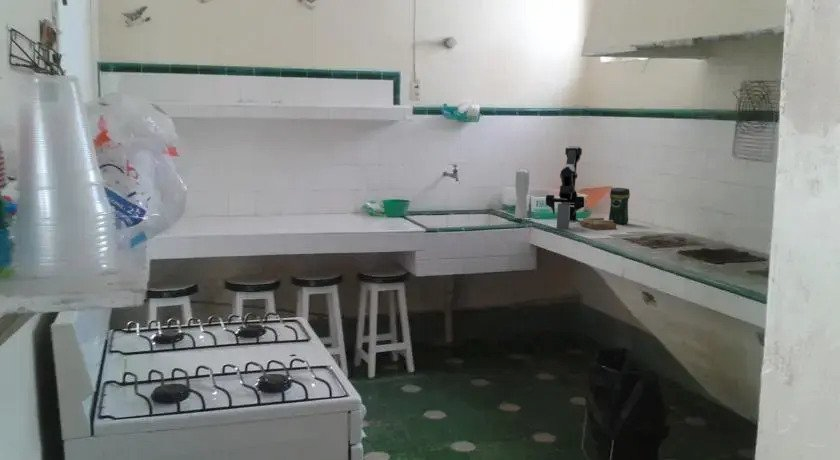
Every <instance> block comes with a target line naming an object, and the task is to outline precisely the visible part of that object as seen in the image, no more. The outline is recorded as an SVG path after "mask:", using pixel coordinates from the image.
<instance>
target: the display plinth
mask: <svg viewBox="0 0 840 460" xmlns="http://www.w3.org/2000/svg"><path fill="white" fill-rule="evenodd" d="M579 226H580V227H584V228H588V229H591V230H594V231H596V230H598V231H599V230H601V231H602V230H616V229H617V224H614V223H613V220H609V219H605V218H604V217H584V218H583V219H582V220H580V221H579Z"/></svg>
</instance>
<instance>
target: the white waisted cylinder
mask: <svg viewBox="0 0 840 460" xmlns="http://www.w3.org/2000/svg"><path fill="white" fill-rule="evenodd" d="M514 186H515V194H516V200H515V201H516V202H515V207H514V209H515V210H514V218H513V219H514V220H516V219H515V218H521V219H523V218H531V219H532V199H531V195H530V196H529V203H528V202H527V196H528V194H529V188H530V171H529V169H528V168H526V167H522V166H521V167H519V168H518V169H516V170H515V183H514Z"/></svg>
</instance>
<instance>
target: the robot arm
mask: <svg viewBox="0 0 840 460" xmlns="http://www.w3.org/2000/svg"><path fill="white" fill-rule="evenodd" d="M564 154H565V155H566V158H567V159H566V164H565V166H564V167H563V168H562V169H561V171H560V174H559V178H560V180H561V185H560V186H559V194H558V196H559V197H555V195H554V194H547V195H546V196H545V204H546V206H547V207H549V208H551V210H552V214H553V215H555V213H556V212H555V211H556V209H555V207H556V206H555V203H564V204H570V218H569V221H575V220H578V219H579V218H577V212H578V210H579V209H580V210H581V209H582V208H585V197H584V196H579V195H578V194H577V191H576V182H577V181H576V180H577V178H578V173H577V167H578V163H579V161H580V160H581V156H582V154H583V148H581V147H580V146H578V145H577V146H572V145H571V146H568V147H565V153H564Z"/></svg>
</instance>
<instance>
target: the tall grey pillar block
mask: <svg viewBox="0 0 840 460" xmlns="http://www.w3.org/2000/svg"><path fill="white" fill-rule="evenodd" d="M556 213H557V214H556V229H557V228H559V229H560V230H569V229H570V220H569V218H570V204H564V203H561V202H558V203H557V211H556Z"/></svg>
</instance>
